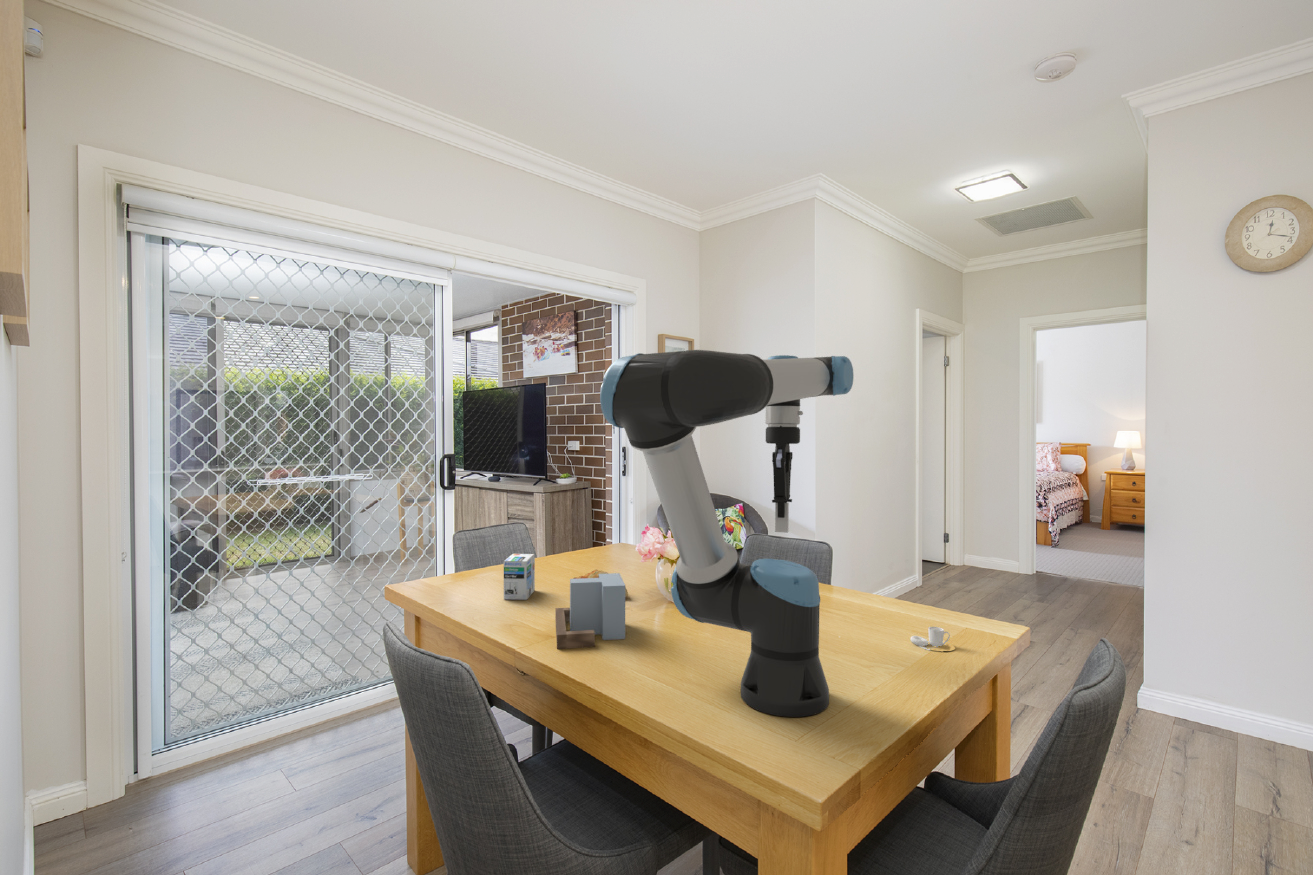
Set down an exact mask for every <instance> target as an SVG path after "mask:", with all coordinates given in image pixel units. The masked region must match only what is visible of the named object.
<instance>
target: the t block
mask: <svg viewBox="0 0 1313 875" xmlns="http://www.w3.org/2000/svg"><path fill="white" fill-rule="evenodd" d="M608 573H609V572H608ZM625 587H626V584H625V582H624V580H623V578H622V576H621V574H620V572H618V573H617V572H616V573H614V572H613V573H611V572H610V573H609V574H599V578H580V579H573V578H569V608H570V622H569V631H584V630H594V632H595V635H601V638H602V640H603V641H607V640H608V641H609V640H611V641H612V640H626V597H625Z"/></svg>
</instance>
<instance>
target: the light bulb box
mask: <svg viewBox="0 0 1313 875" xmlns="http://www.w3.org/2000/svg"><path fill="white" fill-rule="evenodd" d="M535 556H536V554H534V553H512V554H511V555H509V556H508V557H506V559H505V560H503V600H521V601H522V600H524V601H527V600H528V599H529V598H530V597H531V595H532V594H534V592H535V589H536V588H535V586H536V585H535V583H536V579H535V574H536V573H535V572H536V571H535V568H536V567H535V566H536V565H535V564H536V563H535V562H536V561H535V560H536V559H535Z"/></svg>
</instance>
